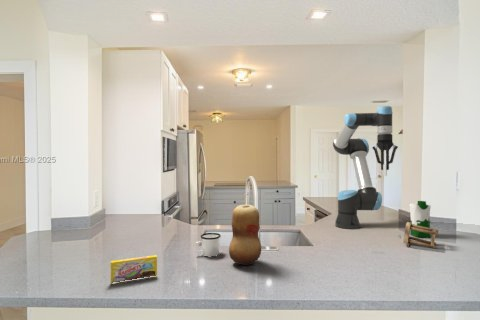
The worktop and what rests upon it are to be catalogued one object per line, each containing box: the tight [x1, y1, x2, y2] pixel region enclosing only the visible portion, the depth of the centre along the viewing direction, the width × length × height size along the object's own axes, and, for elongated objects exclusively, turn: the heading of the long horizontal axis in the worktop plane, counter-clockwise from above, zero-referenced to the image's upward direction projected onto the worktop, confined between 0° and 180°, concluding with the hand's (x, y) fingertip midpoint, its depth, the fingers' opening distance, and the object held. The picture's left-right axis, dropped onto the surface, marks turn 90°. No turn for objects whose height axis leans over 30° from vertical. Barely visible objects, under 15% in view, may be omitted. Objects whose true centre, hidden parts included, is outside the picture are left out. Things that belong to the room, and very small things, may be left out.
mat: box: [409, 241, 446, 254], centre depth 142 cm, size 14×14×1 cm
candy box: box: [110, 254, 158, 284], centre depth 105 cm, size 16×2×8 cm, turn 114°
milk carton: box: [409, 200, 431, 239], centre depth 160 cm, size 9×9×20 cm
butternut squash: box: [228, 204, 262, 266], centre depth 120 cm, size 14×13×25 cm
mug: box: [194, 232, 221, 257], centre depth 132 cm, size 12×10×9 cm
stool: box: [403, 221, 439, 249], centre depth 143 cm, size 9×9×14 cm
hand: (385, 175), depth 159 cm, fingers closed
